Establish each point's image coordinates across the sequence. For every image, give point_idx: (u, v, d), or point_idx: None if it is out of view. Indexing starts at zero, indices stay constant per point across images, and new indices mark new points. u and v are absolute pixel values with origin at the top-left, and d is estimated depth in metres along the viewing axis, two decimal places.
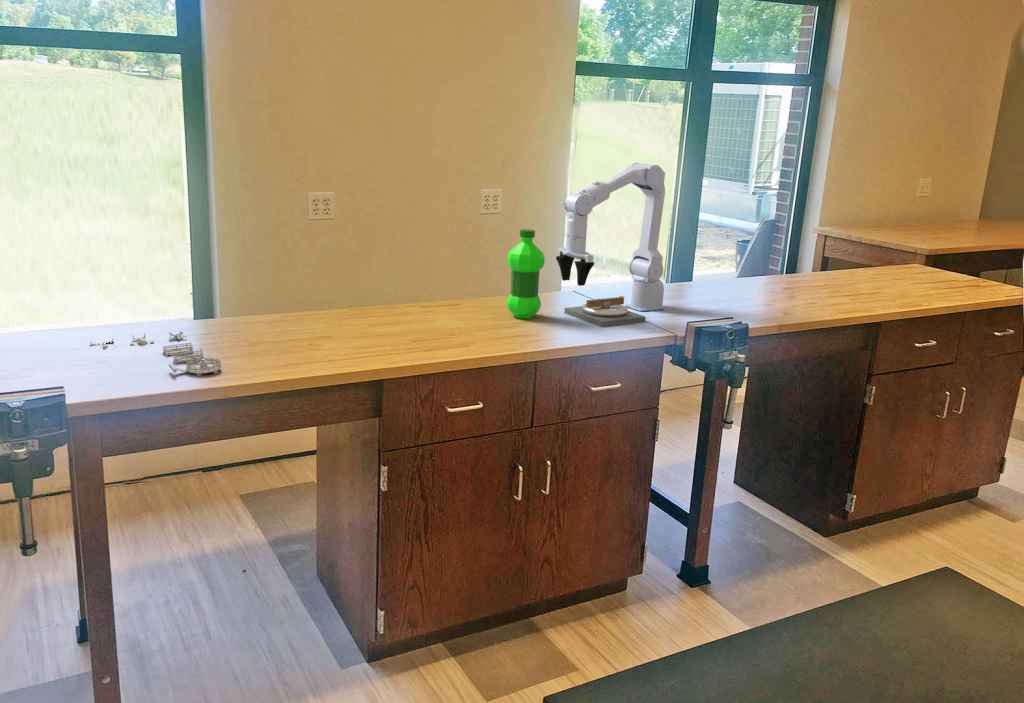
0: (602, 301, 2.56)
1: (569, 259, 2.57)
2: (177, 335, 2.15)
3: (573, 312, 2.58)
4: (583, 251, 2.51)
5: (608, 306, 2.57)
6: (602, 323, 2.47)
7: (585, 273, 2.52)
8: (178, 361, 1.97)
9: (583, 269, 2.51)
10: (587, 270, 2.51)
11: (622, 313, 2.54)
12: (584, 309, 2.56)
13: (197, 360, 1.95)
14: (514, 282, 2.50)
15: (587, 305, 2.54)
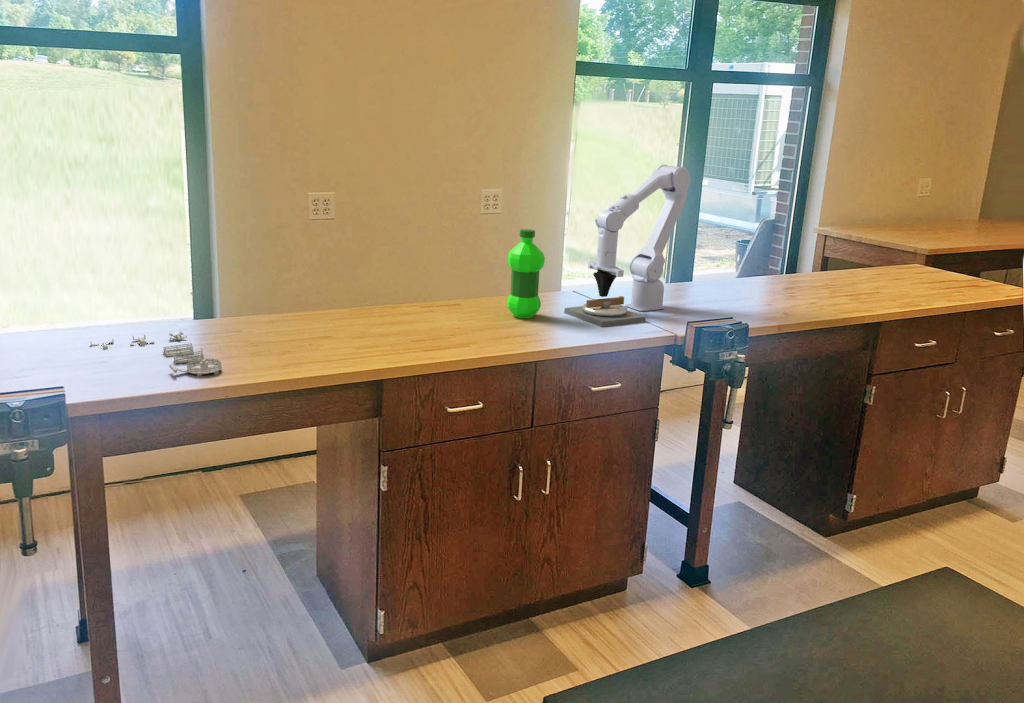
0: (602, 301, 2.56)
1: None
2: (177, 336, 2.14)
3: (573, 312, 2.58)
4: (613, 266, 2.60)
5: (608, 306, 2.57)
6: (602, 323, 2.47)
7: (608, 285, 2.63)
8: (178, 362, 1.97)
9: (606, 281, 2.62)
10: (610, 282, 2.63)
11: (622, 313, 2.54)
12: (584, 309, 2.56)
13: (197, 361, 1.95)
14: (514, 282, 2.50)
15: (587, 305, 2.54)
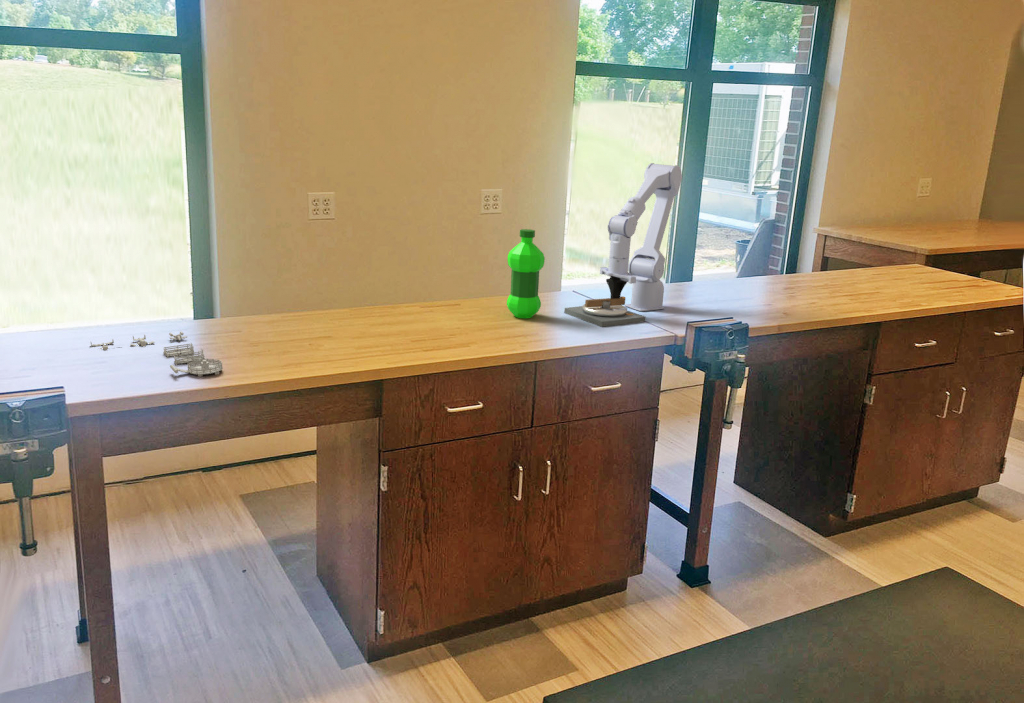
0: (601, 301, 2.56)
1: None
2: (177, 336, 2.14)
3: (573, 312, 2.58)
4: (626, 272, 2.56)
5: (608, 306, 2.57)
6: (602, 323, 2.47)
7: (618, 290, 2.59)
8: (179, 362, 1.96)
9: (616, 287, 2.59)
10: (620, 288, 2.59)
11: (620, 313, 2.53)
12: (583, 308, 2.57)
13: (198, 361, 1.94)
14: (514, 282, 2.50)
15: (586, 304, 2.55)
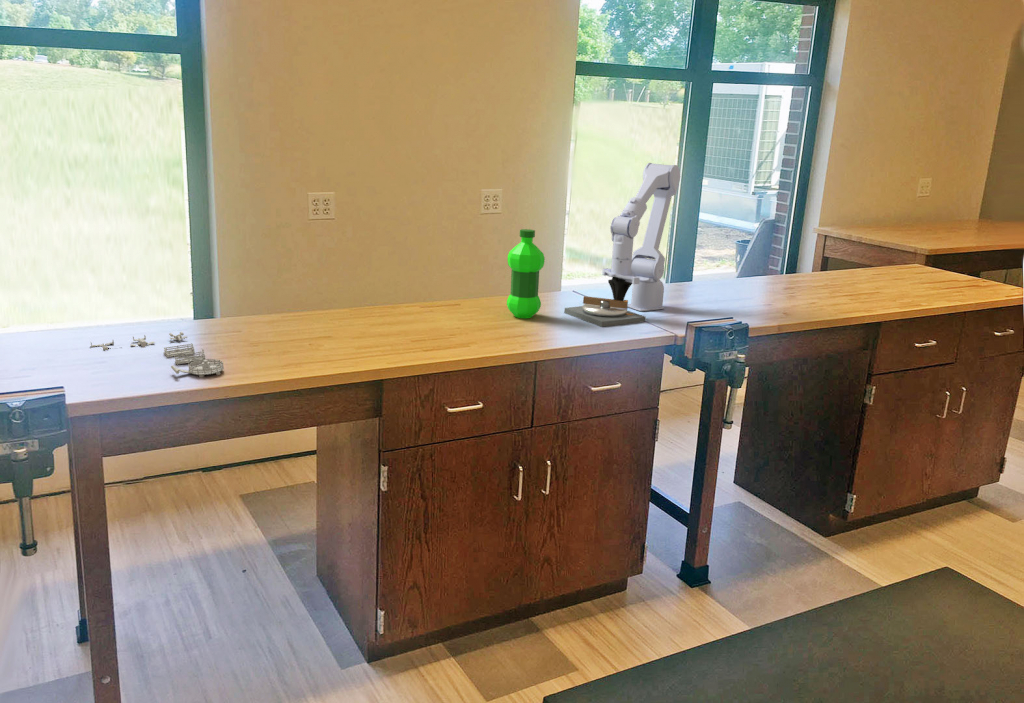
0: (599, 300, 2.57)
1: None
2: (178, 336, 2.14)
3: (573, 312, 2.58)
4: (629, 273, 2.55)
5: (604, 306, 2.56)
6: (602, 323, 2.47)
7: (623, 292, 2.58)
8: (180, 362, 1.96)
9: (621, 288, 2.57)
10: (625, 289, 2.57)
11: (605, 314, 2.52)
12: None
13: (199, 361, 1.94)
14: (514, 282, 2.50)
15: None
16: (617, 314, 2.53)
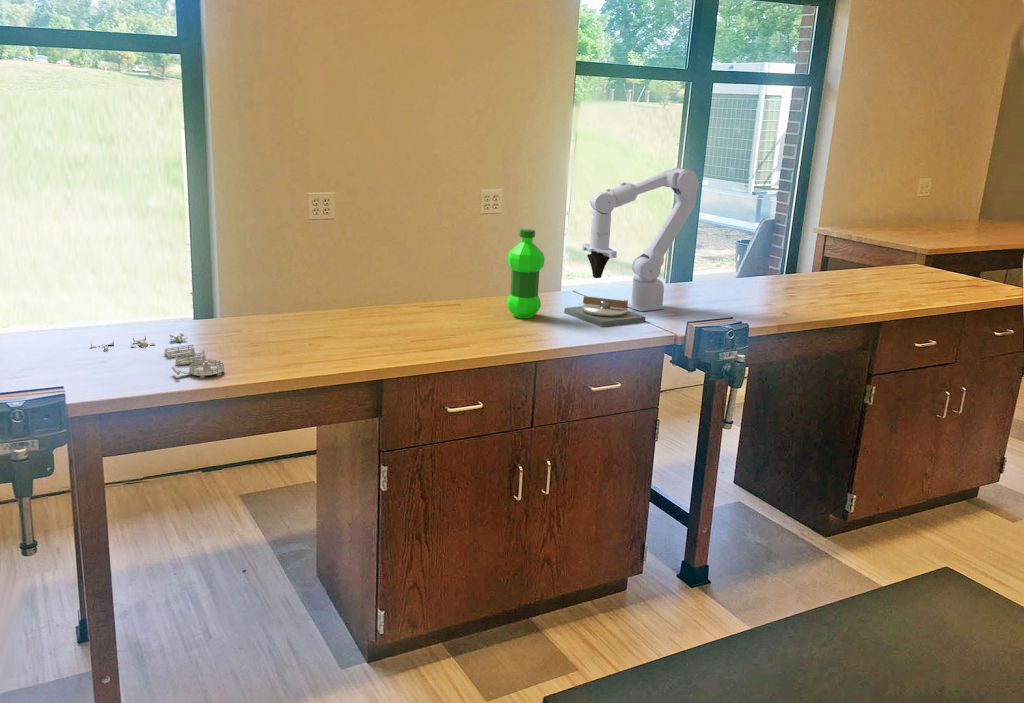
0: (599, 300, 2.57)
1: None
2: (178, 337, 2.13)
3: (573, 312, 2.58)
4: (607, 247, 2.63)
5: (604, 306, 2.56)
6: (602, 323, 2.47)
7: (601, 266, 2.66)
8: (180, 363, 1.96)
9: (599, 262, 2.66)
10: (603, 263, 2.66)
11: (605, 314, 2.52)
12: None
13: (200, 362, 1.94)
14: (514, 282, 2.50)
15: None
16: (617, 314, 2.53)
